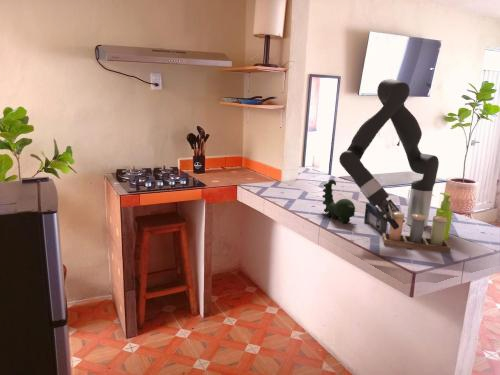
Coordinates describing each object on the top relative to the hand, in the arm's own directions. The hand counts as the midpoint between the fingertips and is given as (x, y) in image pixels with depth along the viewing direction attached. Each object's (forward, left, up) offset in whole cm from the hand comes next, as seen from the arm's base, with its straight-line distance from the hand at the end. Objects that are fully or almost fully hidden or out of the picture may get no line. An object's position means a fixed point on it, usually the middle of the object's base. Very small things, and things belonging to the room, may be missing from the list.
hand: (400, 225), depth 149 cm
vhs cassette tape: (-18, -8, -9) cm, 22 cm away
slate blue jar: (0, +6, -7) cm, 10 cm away
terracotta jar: (0, -1, -7) cm, 7 cm away
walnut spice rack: (0, +6, -9) cm, 11 cm away
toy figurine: (-29, -24, -9) cm, 39 cm away
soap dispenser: (-14, +18, -9) cm, 25 cm away
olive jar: (0, +14, -7) cm, 16 cm away
